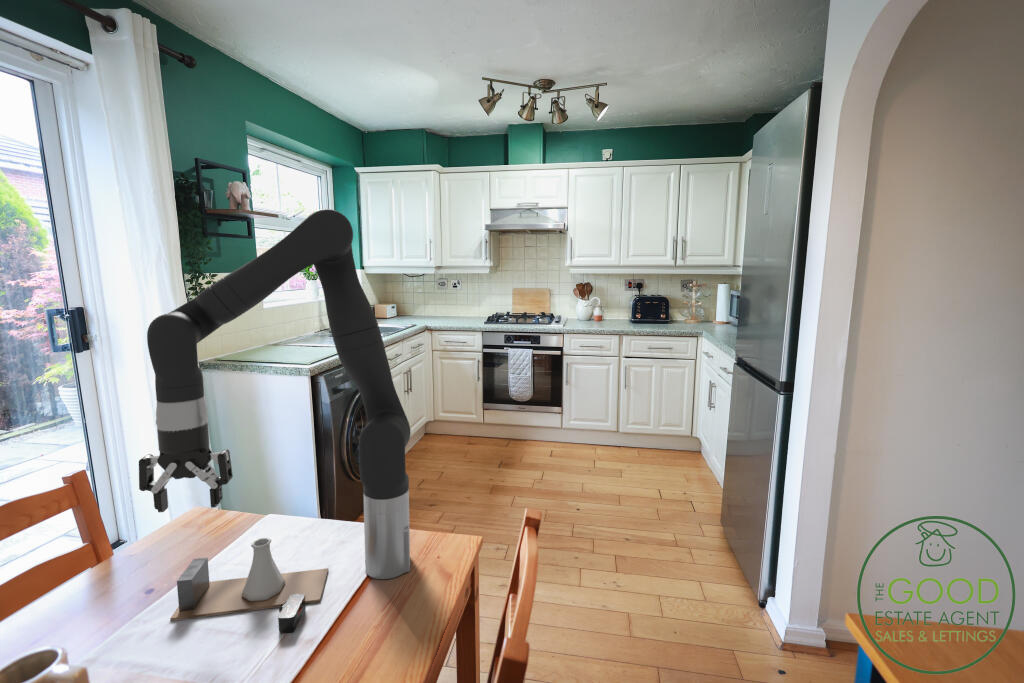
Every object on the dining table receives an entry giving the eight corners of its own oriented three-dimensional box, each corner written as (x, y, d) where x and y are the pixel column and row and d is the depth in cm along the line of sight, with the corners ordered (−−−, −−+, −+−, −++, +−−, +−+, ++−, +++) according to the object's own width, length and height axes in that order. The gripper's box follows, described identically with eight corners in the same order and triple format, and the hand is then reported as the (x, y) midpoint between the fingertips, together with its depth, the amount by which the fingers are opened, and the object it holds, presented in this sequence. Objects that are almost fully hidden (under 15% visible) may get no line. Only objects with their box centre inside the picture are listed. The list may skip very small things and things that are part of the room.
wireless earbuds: (308, 606, 88) (307, 590, 87) (294, 634, 81) (293, 617, 80) (282, 608, 87) (281, 592, 87) (266, 636, 80) (265, 619, 80)
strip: (328, 570, 98) (327, 541, 98) (320, 601, 89) (318, 569, 88) (194, 585, 93) (192, 555, 92) (170, 620, 83) (167, 586, 82)
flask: (267, 605, 87) (264, 554, 86) (233, 599, 88) (230, 549, 87) (292, 581, 94) (290, 534, 93) (261, 576, 95) (258, 530, 94)
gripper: (233, 415, 90) (238, 495, 92) (148, 419, 87) (155, 502, 88) (218, 426, 82) (224, 513, 84) (125, 431, 79) (133, 522, 81)
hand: (189, 508), depth 86 cm, fingers open, 8 cm apart
